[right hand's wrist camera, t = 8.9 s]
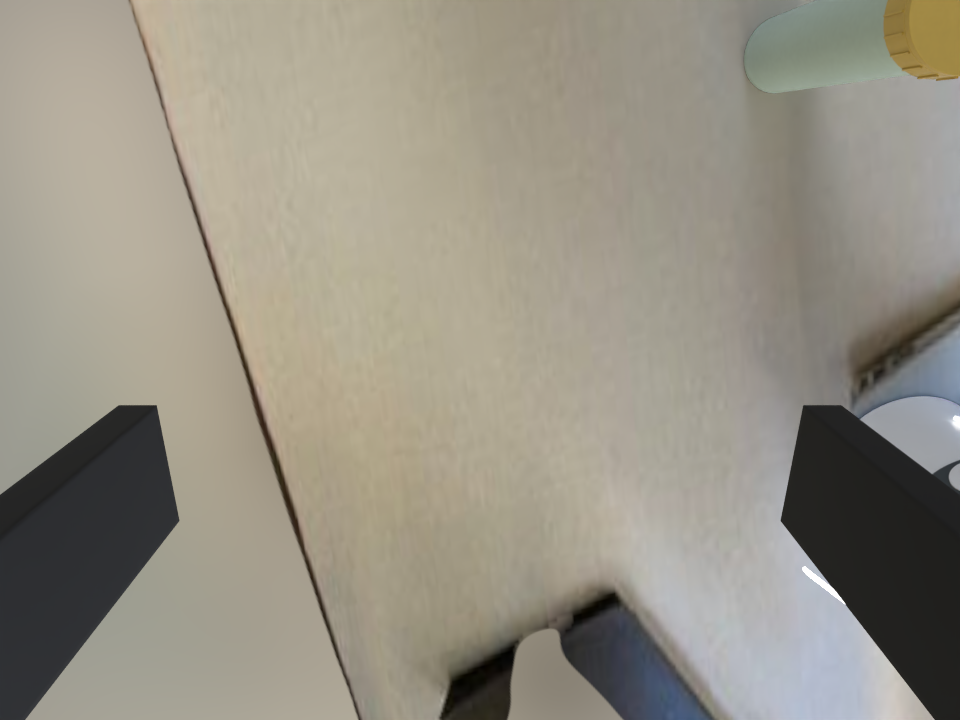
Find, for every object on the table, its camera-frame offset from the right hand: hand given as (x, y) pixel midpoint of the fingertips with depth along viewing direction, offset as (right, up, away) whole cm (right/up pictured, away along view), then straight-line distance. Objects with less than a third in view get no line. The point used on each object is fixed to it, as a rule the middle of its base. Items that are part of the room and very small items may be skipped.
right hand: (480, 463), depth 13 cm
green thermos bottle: (+23, +25, +34) cm, 48 cm away
